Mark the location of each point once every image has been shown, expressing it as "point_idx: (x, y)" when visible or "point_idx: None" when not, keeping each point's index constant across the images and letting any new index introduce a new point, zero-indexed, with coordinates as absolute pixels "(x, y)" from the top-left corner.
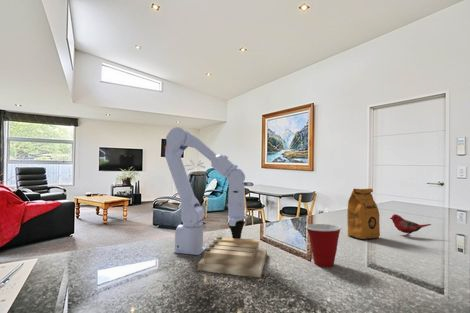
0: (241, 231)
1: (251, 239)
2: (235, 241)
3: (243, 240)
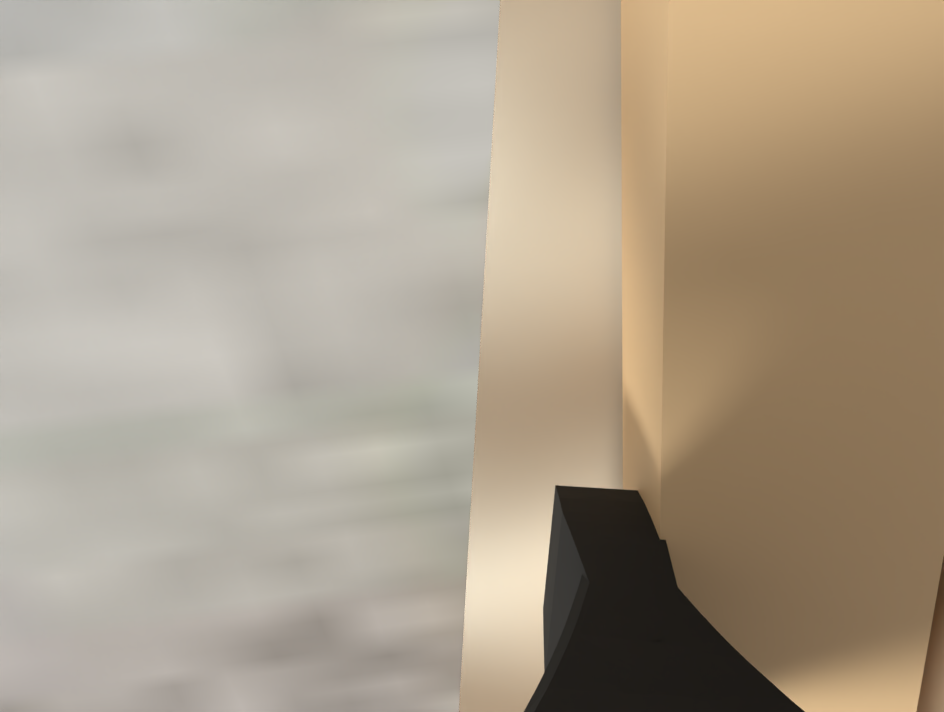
0: (665, 672)
1: (728, 165)
2: (916, 616)
3: (886, 423)
